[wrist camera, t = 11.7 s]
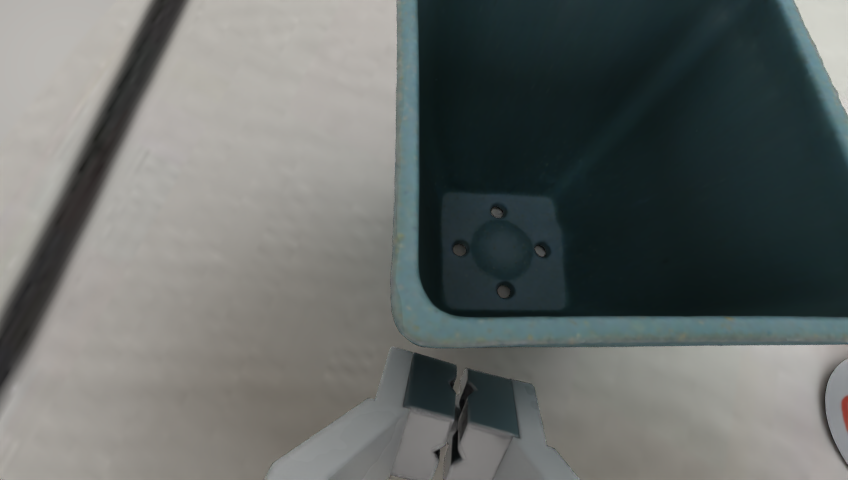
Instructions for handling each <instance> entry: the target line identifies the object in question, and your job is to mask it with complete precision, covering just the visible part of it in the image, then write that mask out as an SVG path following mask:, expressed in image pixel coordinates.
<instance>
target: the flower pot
mask: <svg viewBox="0 0 848 480" xmlns="http://www.w3.org/2000/svg"><path fill="white" fill-rule="evenodd" d="M395 155H396V162H395V202H394V220H393V254H392V265H391V279H390V285H391V307H392V314H393V318H394V321H395V324H396V326H397V328H398V330H399V332H400V333H401V334H402V335H403V336H404V337H405V338H406V339H408V340H409V341H410V342H412V343H414V344H415V345H418V346H421V347H429V348H484V347H632V346H700V345H718V346H723V345H840V344H848V116H847V113H846V111H845V109H844V108H843V106H842V105H841V101H840V99H839V97H838V92H837V90H836V89H835V88H834V86H833V85H832V82H831V79H830V77H829V75H828V73H827V71H826V69H825V67H824V65H823V61H822V59H821V57H820V55H819V53H818V50H817V48H816V45H815V44H814V42H813V40H812V38H811V37H810V34H809V32H808V30H807V29H806V27H805V25H804V22H803V20H802V18H801V15H800V13H799V10H798V8H797V6H796V4H795V2H794V0H397V88H396V149H395ZM493 207H499V208H501V209H502V210H503V213H504V214H503V216H502V217H501V218H496V217H494V216H493V215H492V214H491V209H492V208H493ZM455 244H462V245H464V246H465V248H466V253H465V254H464V255H463V256H457V255H456V254H455V253H454V252H453V246H454V245H455ZM537 245H541V246H543V247H544V248H545V250H546V255H545V256H544V257H540V256H538V255H537V253H536V252H535V249H534V248H535V246H537ZM501 285H505V286H507V287H508V288H509V289H510V295H509V297H507V298H502V297H500V296H499V295H498V293H497V289H498V287H499V286H501Z"/></svg>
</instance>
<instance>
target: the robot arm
mask: <svg viewBox="0 0 848 480" xmlns="http://www.w3.org/2000/svg"><path fill="white" fill-rule="evenodd" d="M456 377H457V366H456V365H455V364H452V363H448V362H445V361H441V360H438V359H435V358H431V357H428V356H424V355H421V354H418V353H412V352H410V351H406V350H403V349H399V348H396V347H391V349H390V351H389V354H388V357H387V361H386V364H385V368H384V371H383V374H382V378H381V381H380V384H379V388H378V391H377V395H376V398H375V400H374V399H370V398H367V399H366V400H365V401H363V402H362V403H360V404H359V405H357V406H356V407H354V408H353V409H351V410H350V411H348V412H347V413H345V414H344V415H343V416H341V417H340V418H338V419H337V420H335V421H334V422H332V423H331V424H329V425H328V426H326V427H325V428H323V429H322V430H321V431H319V432H318V433H316V434H315V435H313V436H312V437H310V438H309V439H307V440H306V441H304V442H303V443H301V444H300V445H299V446H297V447H296V448H294V449H293V450H291V451H290V452H288V453H287V454H285V455H284V456H282V457H281V458H279V459H278V460H277V461H275V462H274V463H272V465H271V467H270V469H269V471H268V473H267V475H266V477H265V479H264V480H388V479H389V477H390V475H392V476H397V477H401V478H405V479H409V480H432V479H433V476H434V474H435V471H436V468H437V466H438V463H439V456H440V448H442V447H443V446H445V445H446V442H447V443H448V445H449V447H448V450H447V452H446V455H445V458H444V472H443V480H580V479H579V478H578V476H577V475H576V474H575V473H574V471H573V470H572V469H571V468H570V467H569V465H568V464H567V463H566V462H565V461H564V459H563V458H562V457H561V456H560V455H559V453H558V452H557V451H556V450H555V449H554V448H551V447H548V446H547V442H546V438H545V433H544V428H543V424H542V419H541V415H540V410H539V406H538V401H537V396H536V392H535V388H534V386H533V385H532V384H530V383H526V382H522V381H518V380H513V379H507V378H503V377H499V376H495V375H492V374H488V373H484V372H480V371H477V370H473V369H469V368H465V370H464V372H463V374H462V377H461V380H460V391H459V394H457V395H456V393H455V391H454V390H453V386H454V383H455V380H456ZM0 480H3V479H0Z"/></svg>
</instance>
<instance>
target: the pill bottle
mask: <svg viewBox="0 0 848 480" xmlns="http://www.w3.org/2000/svg"><path fill="white" fill-rule="evenodd" d="M825 406H826V415H827V420H828V424H829V428H830V431H831V434H832V436H833V439H834V441H835V443H836V445H837V447H838V449H839V451H840V453H841V455H842V456H843V458H844V459H845V461H846V462H847V464H848V359H846V360H844V361H843V362H842V363H840V364H839V365H838V366H837V367H836V369H835V370H834V371H833V373H832V374H831V376H830V379H829V381H828V384H827V389H826V395H825Z"/></svg>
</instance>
